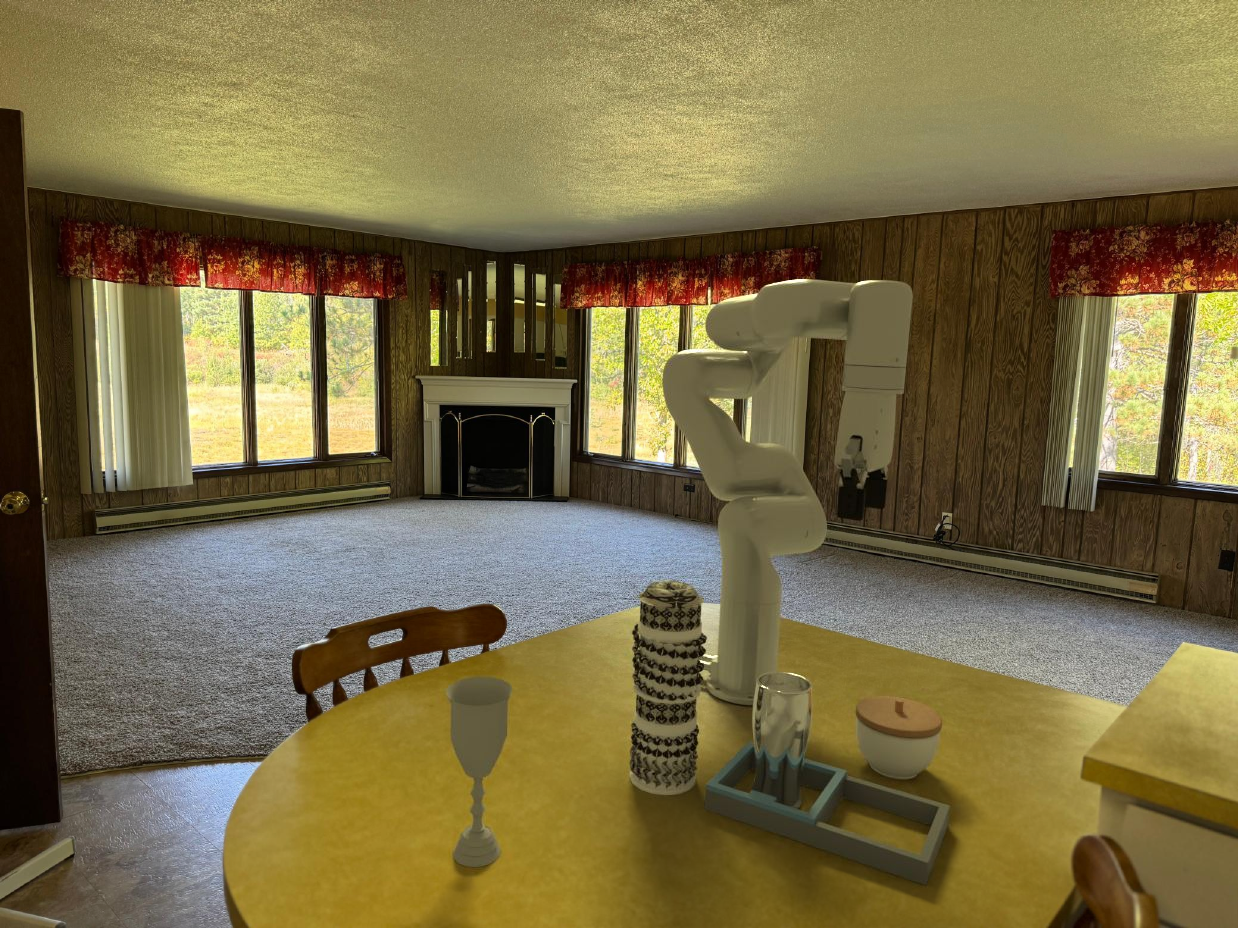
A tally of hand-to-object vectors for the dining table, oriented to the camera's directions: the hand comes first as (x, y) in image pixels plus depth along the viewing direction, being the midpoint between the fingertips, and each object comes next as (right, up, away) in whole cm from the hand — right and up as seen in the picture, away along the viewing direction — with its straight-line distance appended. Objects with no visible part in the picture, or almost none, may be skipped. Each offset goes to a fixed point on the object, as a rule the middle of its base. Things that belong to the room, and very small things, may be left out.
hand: (861, 512), depth 106 cm
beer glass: (-12, -35, -7) cm, 37 cm away
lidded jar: (+5, -34, +2) cm, 35 cm away
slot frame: (-7, -35, -10) cm, 37 cm away
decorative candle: (-26, -34, -3) cm, 43 cm away
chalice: (-47, -35, -19) cm, 61 cm away
